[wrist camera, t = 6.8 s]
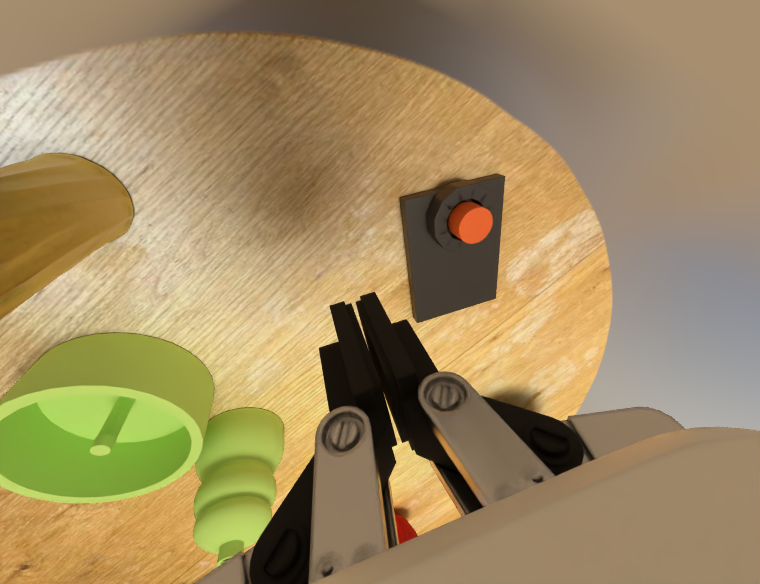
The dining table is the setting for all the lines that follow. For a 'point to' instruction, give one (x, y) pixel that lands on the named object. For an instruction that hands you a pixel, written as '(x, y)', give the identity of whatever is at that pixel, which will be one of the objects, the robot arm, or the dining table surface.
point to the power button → (470, 222)
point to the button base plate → (450, 248)
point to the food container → (139, 435)
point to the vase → (54, 220)
